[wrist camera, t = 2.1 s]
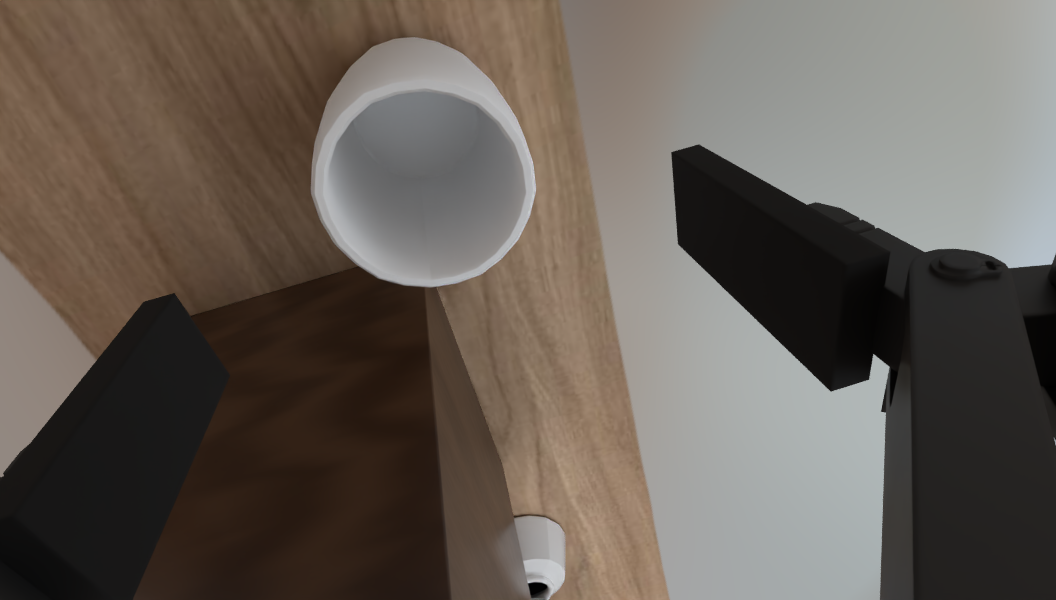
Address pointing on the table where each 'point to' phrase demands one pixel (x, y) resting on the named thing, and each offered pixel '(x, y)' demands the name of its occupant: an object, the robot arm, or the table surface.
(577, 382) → the table surface
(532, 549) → the inkwell
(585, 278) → the table surface
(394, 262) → the cup
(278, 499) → the box
